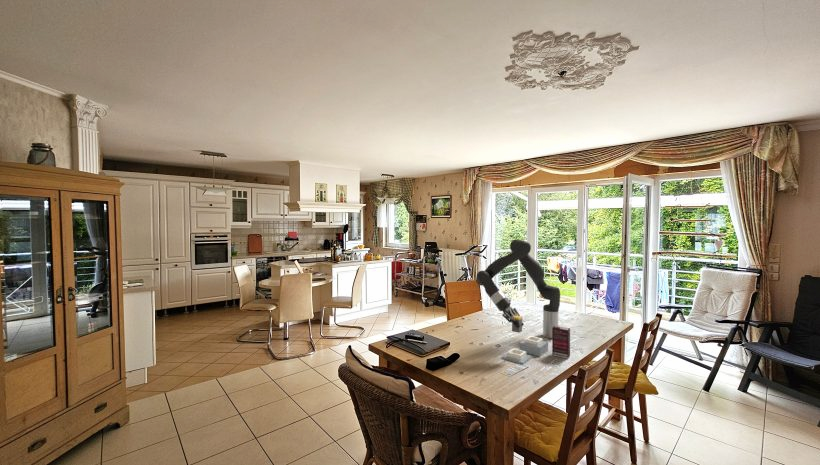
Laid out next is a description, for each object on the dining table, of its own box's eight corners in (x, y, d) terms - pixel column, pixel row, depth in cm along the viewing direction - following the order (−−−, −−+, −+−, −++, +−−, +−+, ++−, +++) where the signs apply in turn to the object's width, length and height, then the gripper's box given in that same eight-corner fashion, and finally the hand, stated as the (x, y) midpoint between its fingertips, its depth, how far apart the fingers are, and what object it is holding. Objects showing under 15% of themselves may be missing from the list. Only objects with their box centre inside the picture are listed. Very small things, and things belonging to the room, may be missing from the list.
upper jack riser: (519, 351, 192) (519, 339, 191) (527, 345, 201) (527, 334, 200) (540, 356, 184) (540, 344, 183) (548, 350, 193) (548, 338, 192)
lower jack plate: (501, 358, 181) (501, 352, 181) (511, 352, 190) (511, 346, 190) (523, 364, 173) (523, 357, 173) (532, 357, 182) (532, 351, 182)
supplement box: (570, 356, 184) (570, 328, 184) (568, 359, 180) (568, 330, 180) (553, 352, 189) (554, 325, 189) (551, 355, 186) (552, 327, 185)
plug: (511, 331, 181) (512, 316, 181) (515, 329, 184) (515, 315, 184) (519, 332, 178) (519, 318, 178) (522, 331, 181) (522, 316, 181)
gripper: (499, 298, 180) (520, 325, 172) (510, 295, 191) (530, 319, 183) (490, 306, 184) (510, 333, 176) (501, 302, 194) (521, 327, 187)
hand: (520, 326), depth 180 cm, fingers closed on plug, 4 cm apart
